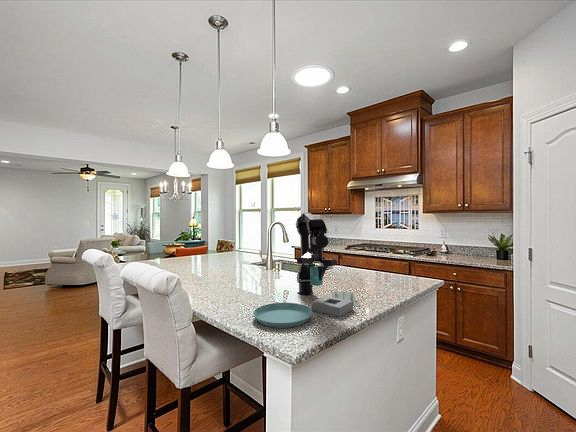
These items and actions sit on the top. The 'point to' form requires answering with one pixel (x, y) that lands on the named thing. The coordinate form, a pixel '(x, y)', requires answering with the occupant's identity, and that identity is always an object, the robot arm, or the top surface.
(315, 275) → the teal peg
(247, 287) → the top surface
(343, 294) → the metal bracket
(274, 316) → the saucer
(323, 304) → the well block
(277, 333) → the top surface
